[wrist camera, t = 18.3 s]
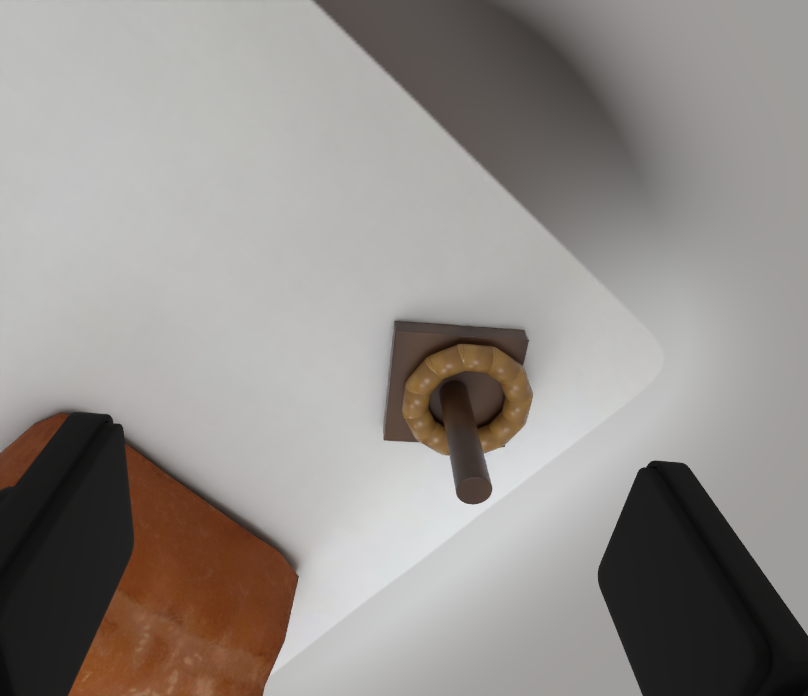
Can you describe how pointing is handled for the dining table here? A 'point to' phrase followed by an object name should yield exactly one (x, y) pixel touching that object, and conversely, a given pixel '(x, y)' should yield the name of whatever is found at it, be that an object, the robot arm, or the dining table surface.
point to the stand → (452, 396)
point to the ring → (471, 361)
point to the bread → (179, 592)
